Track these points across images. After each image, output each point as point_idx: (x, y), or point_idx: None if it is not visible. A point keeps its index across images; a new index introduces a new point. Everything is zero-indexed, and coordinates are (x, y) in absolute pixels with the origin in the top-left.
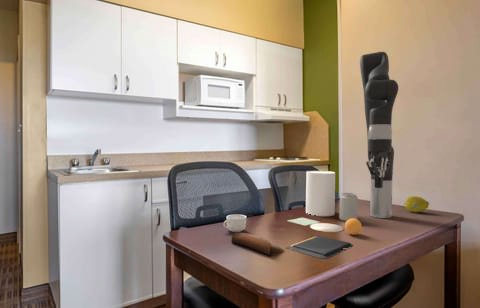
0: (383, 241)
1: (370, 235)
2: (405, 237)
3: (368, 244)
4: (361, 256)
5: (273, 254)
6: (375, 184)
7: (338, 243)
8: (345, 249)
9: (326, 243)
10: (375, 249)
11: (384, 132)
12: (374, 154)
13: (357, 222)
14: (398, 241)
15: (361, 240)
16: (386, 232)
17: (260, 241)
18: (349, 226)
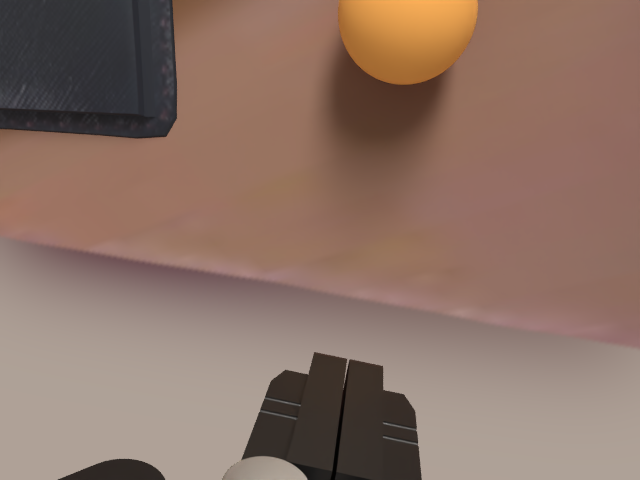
0: (381, 239)
1: (469, 127)
2: (576, 317)
3: (253, 192)
4: (37, 236)
5: None
6: (266, 399)
7: (62, 75)
8: (62, 130)
9: (4, 17)
10: (194, 252)
11: None
12: None
13: (382, 58)
14: (446, 306)
15: (303, 127)
16: (636, 187)
17: None
18: (339, 7)
